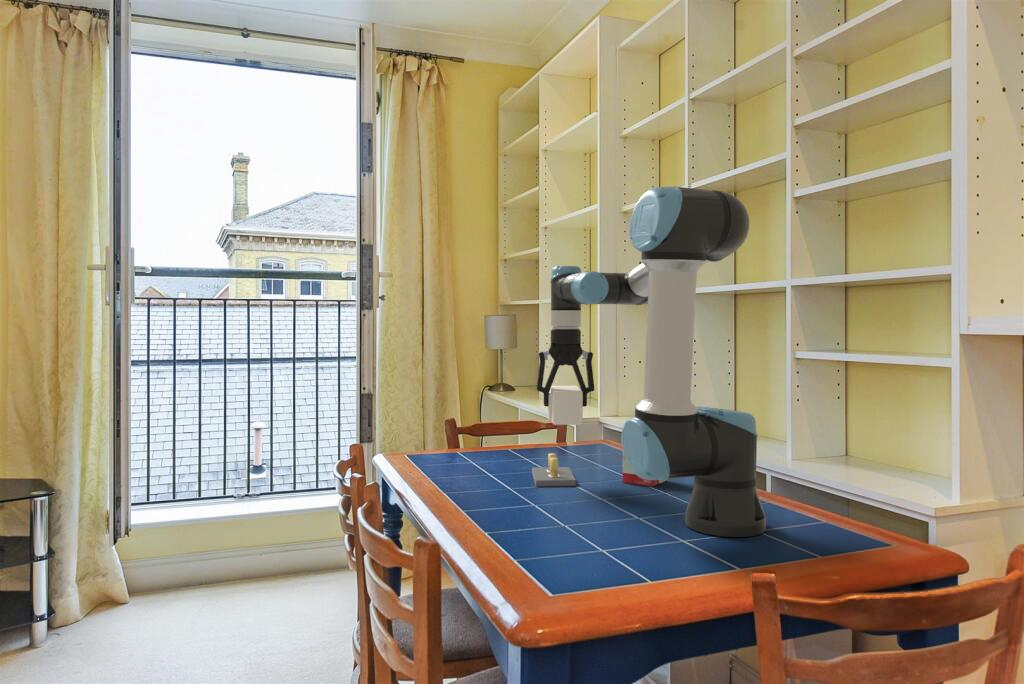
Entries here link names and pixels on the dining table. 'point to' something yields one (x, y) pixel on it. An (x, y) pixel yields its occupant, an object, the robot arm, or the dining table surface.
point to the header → (553, 474)
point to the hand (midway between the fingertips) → (565, 419)
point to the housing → (566, 405)
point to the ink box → (635, 476)
